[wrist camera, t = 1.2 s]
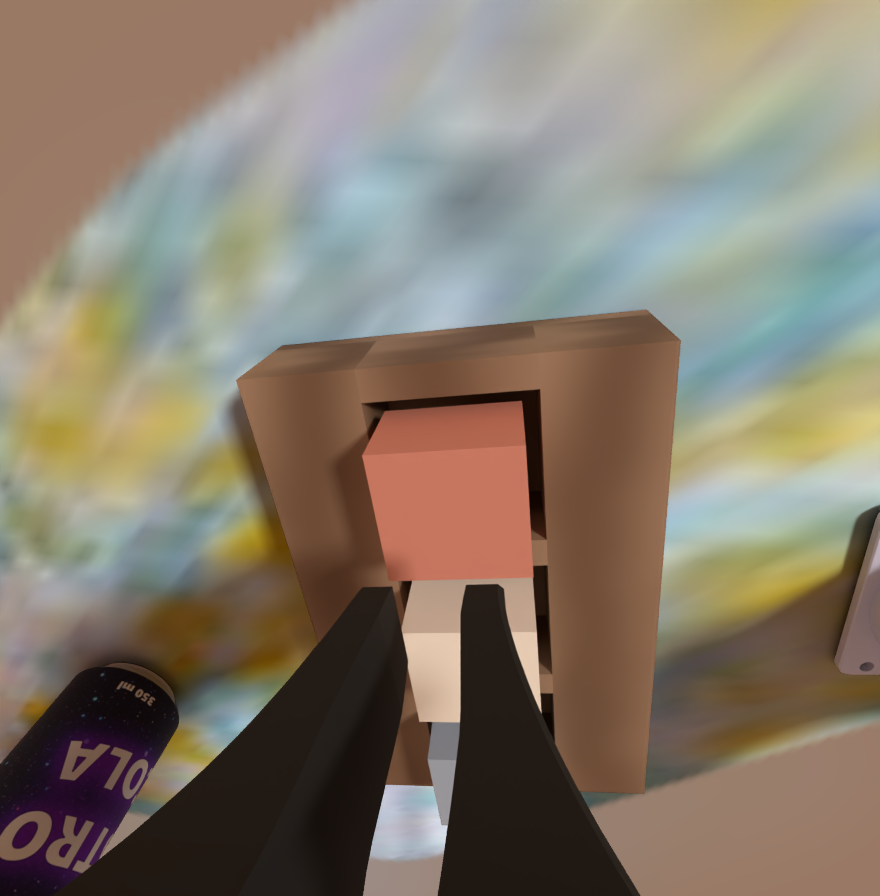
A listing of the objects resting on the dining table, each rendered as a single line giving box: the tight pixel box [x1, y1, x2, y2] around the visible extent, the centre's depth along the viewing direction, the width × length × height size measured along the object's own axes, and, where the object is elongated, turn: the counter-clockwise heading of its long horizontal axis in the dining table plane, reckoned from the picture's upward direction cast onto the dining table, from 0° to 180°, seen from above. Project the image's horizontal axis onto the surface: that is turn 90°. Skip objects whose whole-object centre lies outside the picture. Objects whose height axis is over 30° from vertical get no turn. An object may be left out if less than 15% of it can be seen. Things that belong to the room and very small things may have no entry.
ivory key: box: [402, 578, 541, 722], centre depth 17 cm, size 4×4×3 cm
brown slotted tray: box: [236, 310, 681, 794], centre depth 20 cm, size 12×19×4 cm, turn 7°
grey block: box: [428, 722, 460, 825], centre depth 20 cm, size 4×4×3 cm
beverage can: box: [0, 663, 179, 896], centre depth 22 cm, size 6×6×12 cm
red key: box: [362, 401, 534, 581], centre depth 15 cm, size 4×4×3 cm
